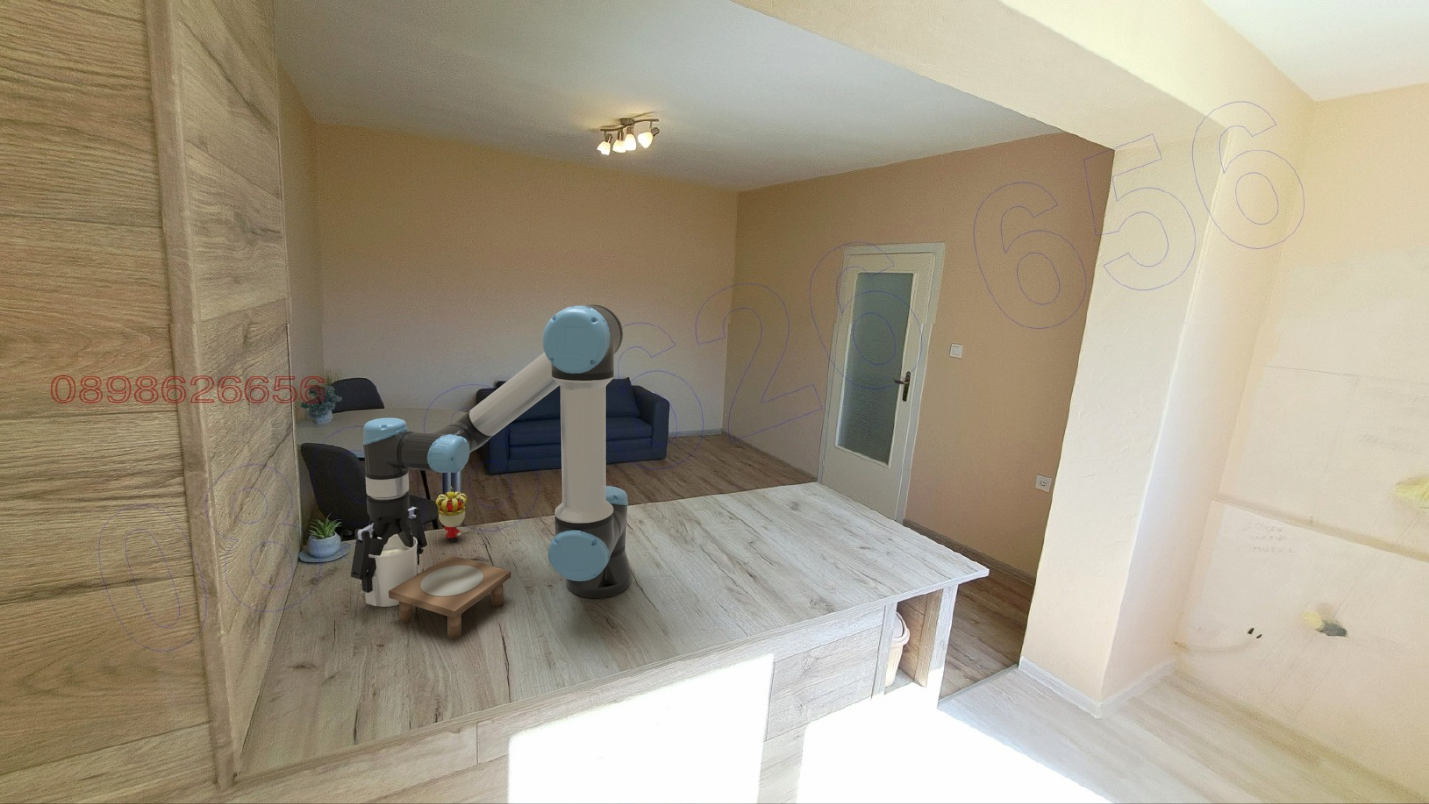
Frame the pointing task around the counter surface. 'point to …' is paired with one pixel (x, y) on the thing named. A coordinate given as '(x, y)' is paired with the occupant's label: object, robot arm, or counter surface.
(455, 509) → the toy
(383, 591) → the candle holder
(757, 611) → the counter surface
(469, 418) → the robot arm
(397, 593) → the footstool
